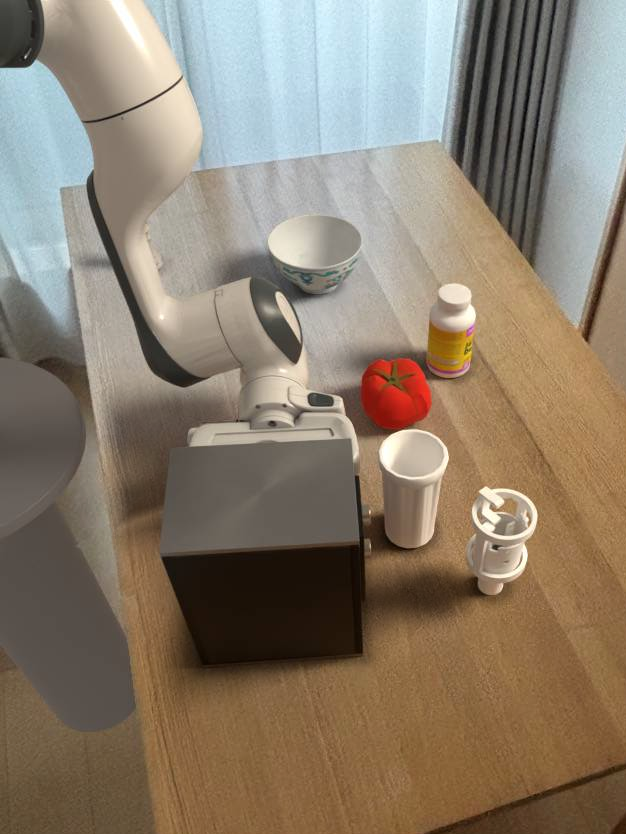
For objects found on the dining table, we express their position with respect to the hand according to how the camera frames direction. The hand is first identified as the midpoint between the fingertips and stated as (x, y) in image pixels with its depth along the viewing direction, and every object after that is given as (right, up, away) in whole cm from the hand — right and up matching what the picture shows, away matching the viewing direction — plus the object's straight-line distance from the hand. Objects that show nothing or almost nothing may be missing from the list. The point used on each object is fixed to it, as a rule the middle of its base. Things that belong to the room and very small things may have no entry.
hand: (274, 506), depth 89 cm
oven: (+1, -12, +4) cm, 13 cm away
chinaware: (0, +39, +42) cm, 58 cm away
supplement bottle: (+21, +23, +31) cm, 44 cm away
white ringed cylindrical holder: (+25, -9, +7) cm, 28 cm away
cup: (+15, -3, +12) cm, 19 cm away
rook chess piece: (-28, +42, +44) cm, 67 cm away
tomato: (+13, +15, +25) cm, 32 cm away
